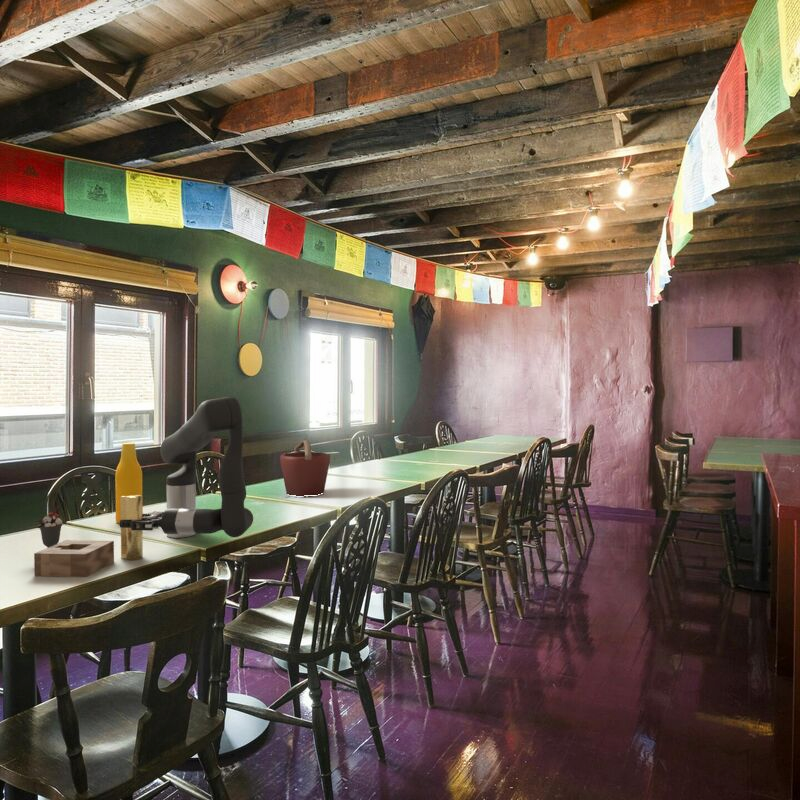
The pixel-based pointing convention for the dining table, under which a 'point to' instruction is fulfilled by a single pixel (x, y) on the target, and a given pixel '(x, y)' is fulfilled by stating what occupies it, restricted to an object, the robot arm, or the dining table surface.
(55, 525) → the sundae
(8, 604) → the dining table surface
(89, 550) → the walnut socket block
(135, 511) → the brass peg
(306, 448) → the bucket
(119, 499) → the beer bottle
